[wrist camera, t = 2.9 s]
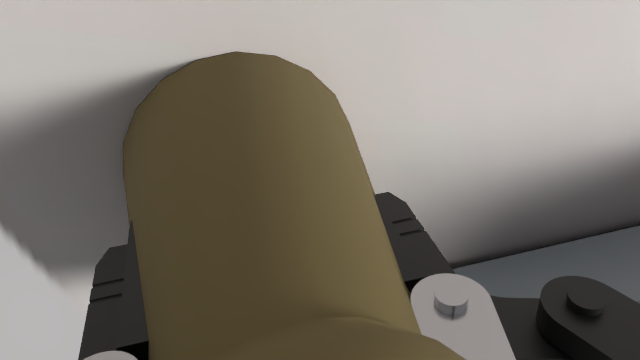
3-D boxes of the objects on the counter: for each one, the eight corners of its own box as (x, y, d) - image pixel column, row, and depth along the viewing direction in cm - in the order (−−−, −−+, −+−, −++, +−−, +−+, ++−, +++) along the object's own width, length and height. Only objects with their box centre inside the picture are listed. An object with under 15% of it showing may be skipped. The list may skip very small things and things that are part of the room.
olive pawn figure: (374, 208, 16) (663, 692, 6) (184, 283, 15) (204, 902, 6) (317, 14, 12) (749, 450, 3) (73, 106, 12) (-247, 884, 3)
